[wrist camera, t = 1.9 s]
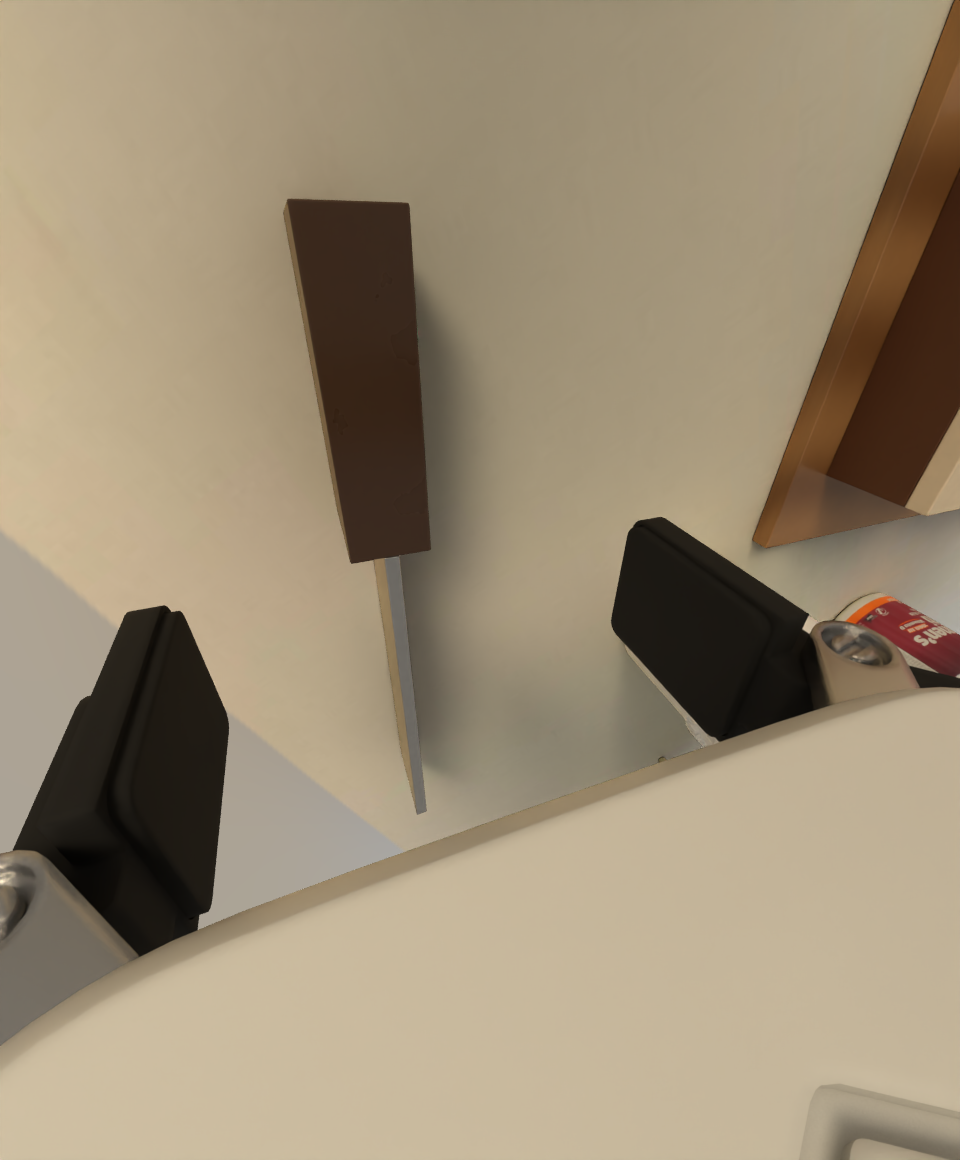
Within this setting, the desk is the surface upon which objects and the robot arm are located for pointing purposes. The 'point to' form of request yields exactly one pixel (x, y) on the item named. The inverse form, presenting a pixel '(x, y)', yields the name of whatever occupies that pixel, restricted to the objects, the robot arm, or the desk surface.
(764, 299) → the desk surface
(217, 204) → the desk surface
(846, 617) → the pill bottle
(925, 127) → the cake board
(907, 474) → the cake
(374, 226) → the knife
